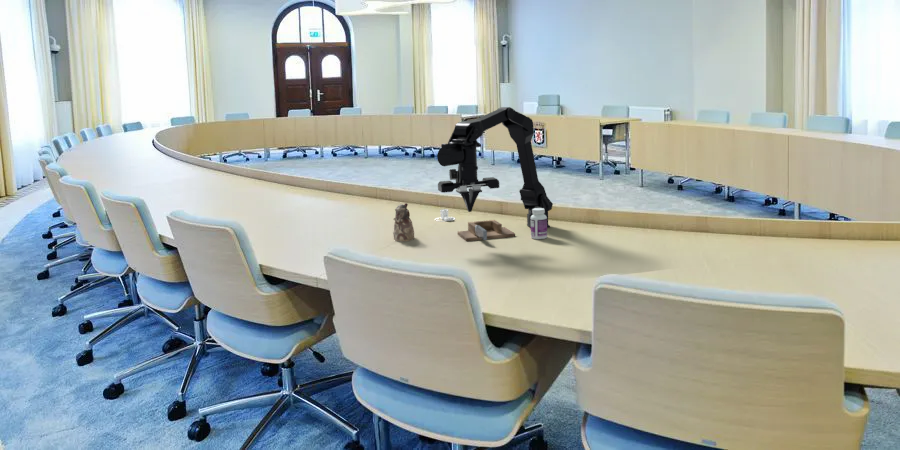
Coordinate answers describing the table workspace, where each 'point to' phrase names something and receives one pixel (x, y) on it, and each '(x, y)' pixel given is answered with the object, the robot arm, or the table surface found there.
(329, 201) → the table surface
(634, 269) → the table surface
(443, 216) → the teacup and saucer
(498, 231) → the cradle board
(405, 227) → the figurine
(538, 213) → the pill bottle
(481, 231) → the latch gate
